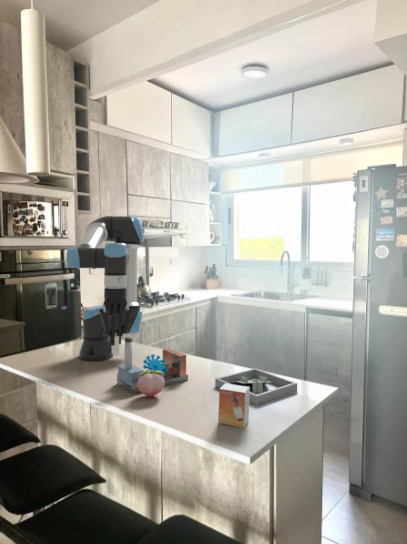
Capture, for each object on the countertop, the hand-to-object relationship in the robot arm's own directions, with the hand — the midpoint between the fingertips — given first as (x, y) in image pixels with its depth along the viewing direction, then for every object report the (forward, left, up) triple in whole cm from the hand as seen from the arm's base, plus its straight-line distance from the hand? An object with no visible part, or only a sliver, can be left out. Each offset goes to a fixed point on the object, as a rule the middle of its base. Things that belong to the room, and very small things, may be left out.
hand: (115, 353), depth 139 cm
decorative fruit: (+12, +7, -14) cm, 19 cm away
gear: (0, +17, -12) cm, 21 cm away
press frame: (0, +16, -13) cm, 21 cm away
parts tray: (+28, +42, -13) cm, 52 cm away
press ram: (0, +6, -11) cm, 13 cm away
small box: (+43, +17, -14) cm, 48 cm away
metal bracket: (+26, +43, -14) cm, 52 cm away
